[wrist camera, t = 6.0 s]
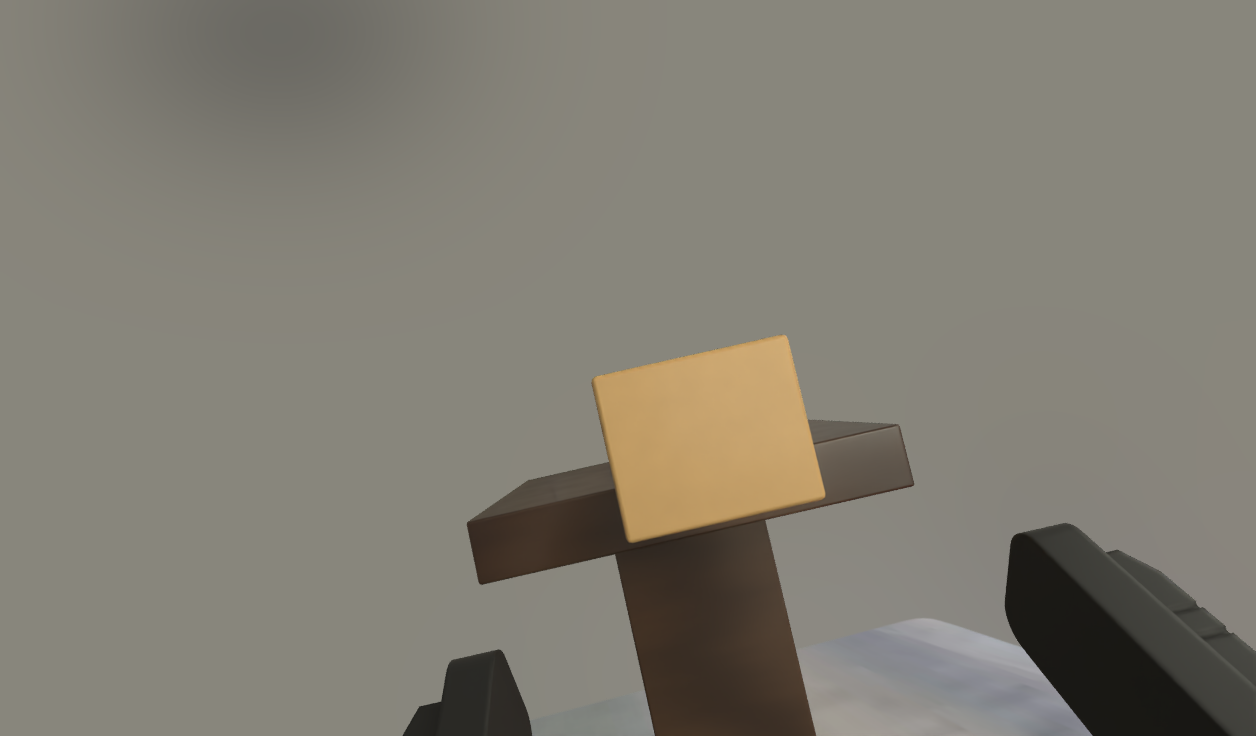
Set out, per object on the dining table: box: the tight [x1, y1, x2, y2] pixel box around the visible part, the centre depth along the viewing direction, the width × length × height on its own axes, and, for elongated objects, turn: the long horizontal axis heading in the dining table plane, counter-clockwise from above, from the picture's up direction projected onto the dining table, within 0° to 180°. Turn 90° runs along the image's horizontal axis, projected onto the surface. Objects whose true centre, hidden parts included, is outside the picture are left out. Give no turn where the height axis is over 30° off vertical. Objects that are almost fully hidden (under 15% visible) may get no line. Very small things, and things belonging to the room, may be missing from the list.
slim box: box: [592, 335, 825, 543], centre depth 23 cm, size 4×24×3 cm, turn 179°
